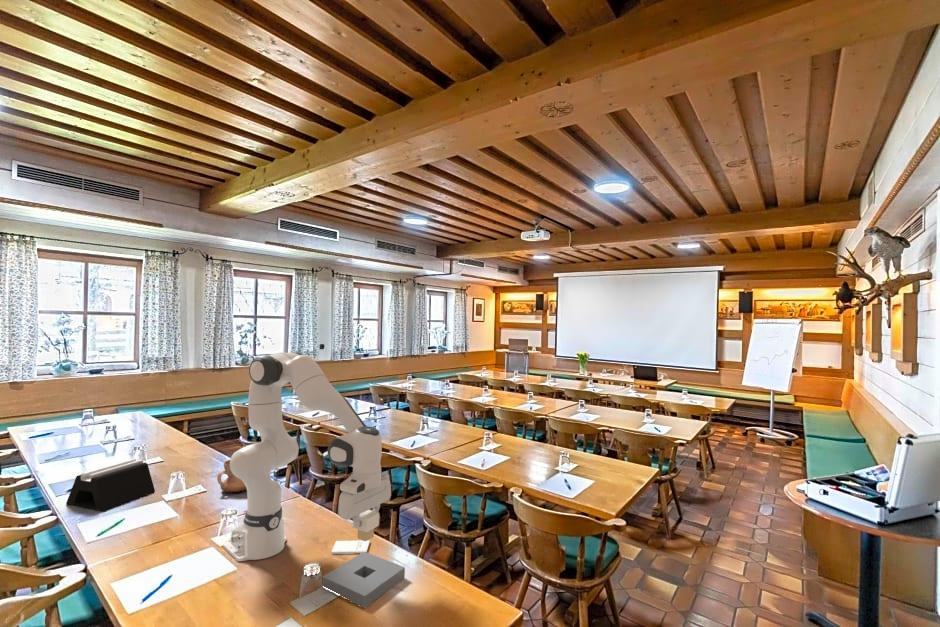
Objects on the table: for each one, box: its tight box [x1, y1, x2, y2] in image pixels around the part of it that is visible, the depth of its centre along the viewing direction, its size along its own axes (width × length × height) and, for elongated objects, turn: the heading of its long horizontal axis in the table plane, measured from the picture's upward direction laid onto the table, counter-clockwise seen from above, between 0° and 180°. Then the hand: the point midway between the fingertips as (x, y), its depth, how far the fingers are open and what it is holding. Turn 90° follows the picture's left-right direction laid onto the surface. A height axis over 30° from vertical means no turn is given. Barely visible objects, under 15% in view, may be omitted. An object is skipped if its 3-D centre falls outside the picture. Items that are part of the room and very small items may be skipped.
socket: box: [321, 551, 406, 609], centre depth 138 cm, size 18×18×4 cm
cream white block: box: [352, 509, 380, 541], centre depth 138 cm, size 6×6×8 cm
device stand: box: [65, 458, 156, 513], centre depth 198 cm, size 22×22×15 cm
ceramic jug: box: [216, 458, 247, 494], centre depth 212 cm, size 18×14×14 cm
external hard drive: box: [330, 539, 371, 555], centre depth 159 cm, size 2×8×12 cm
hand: (365, 522), depth 138 cm, fingers closed on cream white block, 5 cm apart
